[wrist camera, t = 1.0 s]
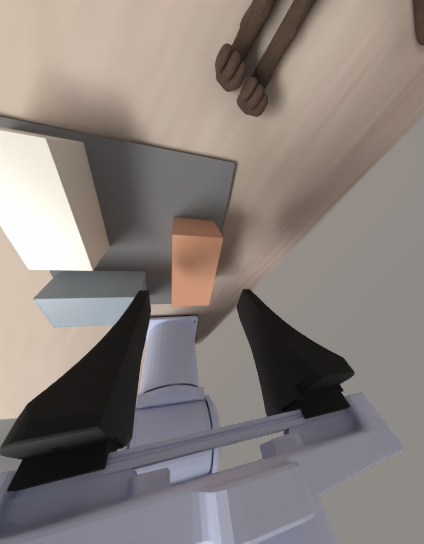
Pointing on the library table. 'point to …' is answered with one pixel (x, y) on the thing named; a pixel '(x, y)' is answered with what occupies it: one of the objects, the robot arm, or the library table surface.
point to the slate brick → (89, 297)
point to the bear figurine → (270, 50)
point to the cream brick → (50, 202)
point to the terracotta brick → (194, 260)
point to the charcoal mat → (146, 200)
